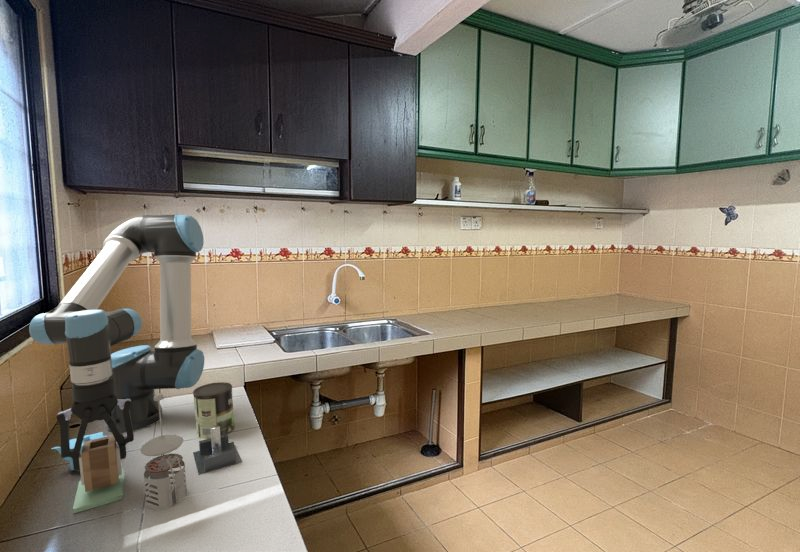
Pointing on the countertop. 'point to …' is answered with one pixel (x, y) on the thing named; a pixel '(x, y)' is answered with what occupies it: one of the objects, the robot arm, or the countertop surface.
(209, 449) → the peg stand
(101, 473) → the sleeve
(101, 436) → the teapot
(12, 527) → the countertop surface
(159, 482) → the french press
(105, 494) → the board
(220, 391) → the coffee can
